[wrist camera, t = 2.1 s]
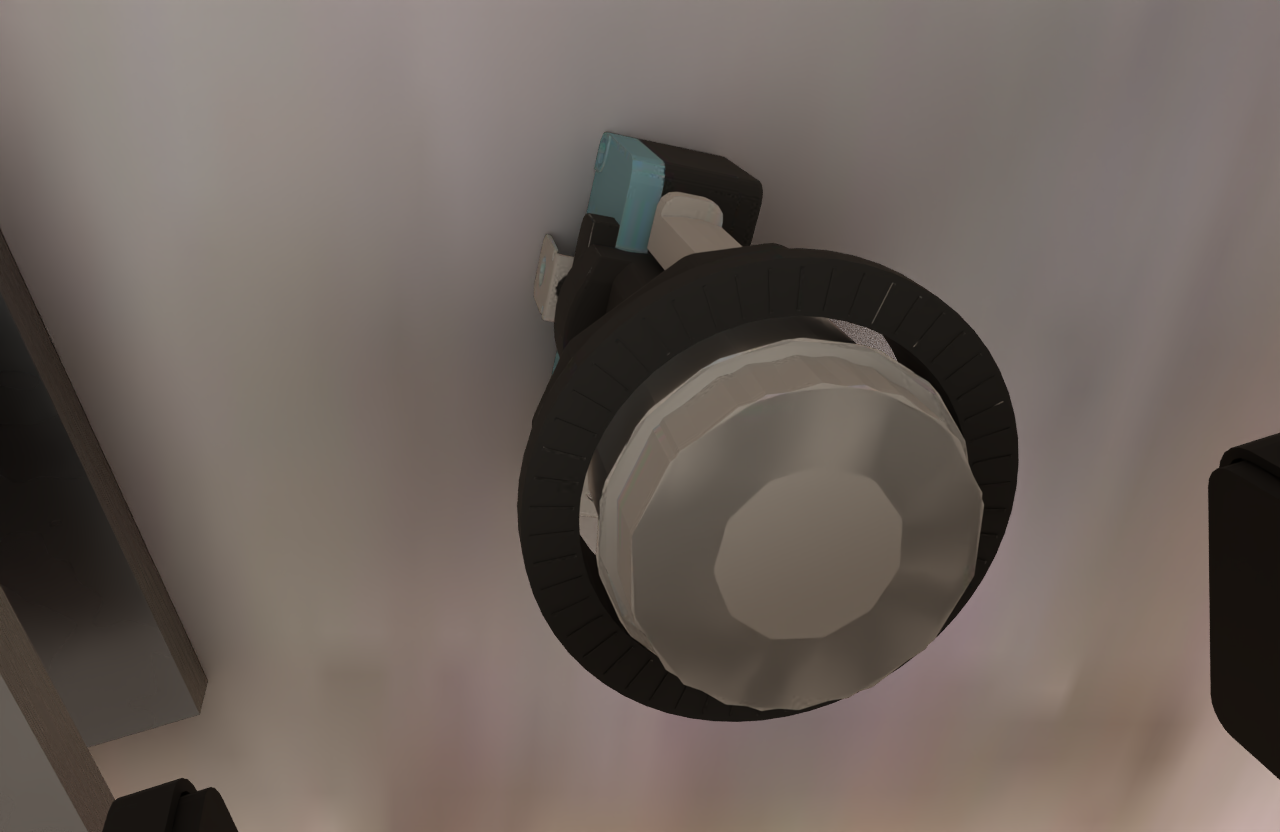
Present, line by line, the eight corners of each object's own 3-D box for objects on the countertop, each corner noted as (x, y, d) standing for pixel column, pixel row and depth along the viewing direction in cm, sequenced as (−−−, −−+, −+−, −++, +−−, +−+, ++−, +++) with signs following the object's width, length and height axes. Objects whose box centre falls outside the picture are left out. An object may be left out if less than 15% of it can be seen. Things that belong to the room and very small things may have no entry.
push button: (709, 496, 22) (927, 888, 13) (430, 460, 21) (460, 873, 12) (804, 151, 20) (1148, 339, 11) (499, 85, 18) (602, 237, 9)
